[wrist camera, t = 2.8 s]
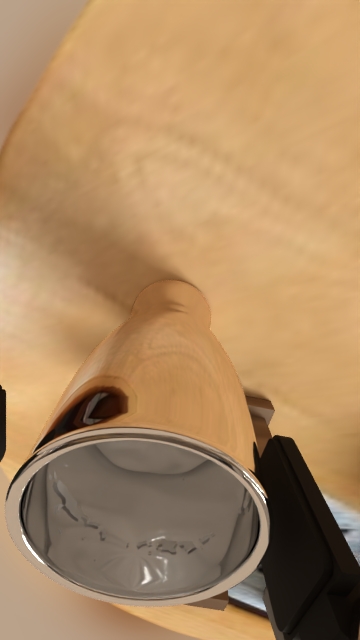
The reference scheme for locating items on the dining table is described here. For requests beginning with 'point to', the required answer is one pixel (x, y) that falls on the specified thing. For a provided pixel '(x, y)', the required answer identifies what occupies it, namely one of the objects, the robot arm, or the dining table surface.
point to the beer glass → (147, 466)
